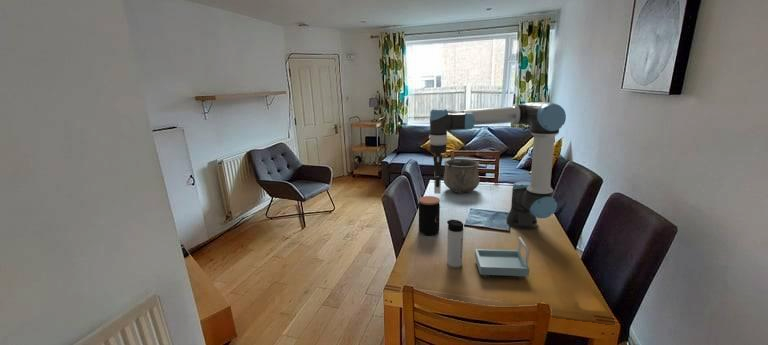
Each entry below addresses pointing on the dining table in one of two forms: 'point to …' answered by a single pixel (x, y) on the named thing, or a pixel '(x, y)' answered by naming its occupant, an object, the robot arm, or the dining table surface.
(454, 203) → the dining table surface
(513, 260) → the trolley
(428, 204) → the coffee jar
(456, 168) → the pot
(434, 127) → the robot arm
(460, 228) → the travel mug
